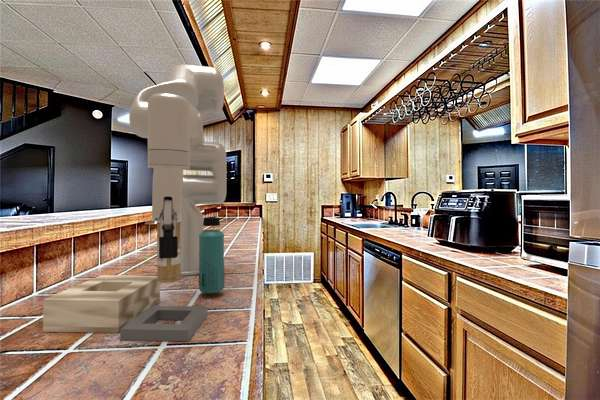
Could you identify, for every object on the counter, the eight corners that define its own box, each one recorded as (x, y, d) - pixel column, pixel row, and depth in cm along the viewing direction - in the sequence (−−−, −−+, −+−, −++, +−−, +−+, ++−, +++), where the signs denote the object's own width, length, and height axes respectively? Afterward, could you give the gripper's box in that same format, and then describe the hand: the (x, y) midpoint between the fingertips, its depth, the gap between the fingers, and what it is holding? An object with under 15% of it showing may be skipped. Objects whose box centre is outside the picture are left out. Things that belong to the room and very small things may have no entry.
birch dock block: (101, 299, 79) (101, 274, 79) (159, 300, 79) (159, 275, 79) (43, 331, 61) (43, 299, 61) (118, 332, 61) (118, 300, 61)
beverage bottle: (229, 292, 86) (230, 216, 86) (214, 300, 80) (215, 218, 79) (208, 290, 88) (208, 215, 88) (192, 297, 82) (192, 217, 82)
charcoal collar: (151, 314, 70) (151, 305, 70) (207, 315, 70) (207, 306, 70) (120, 340, 58) (120, 329, 58) (188, 341, 58) (188, 330, 58)
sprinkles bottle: (183, 281, 64) (184, 212, 63) (158, 285, 62) (158, 213, 61) (178, 275, 68) (178, 210, 67) (154, 278, 65) (154, 211, 65)
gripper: (151, 162, 70) (151, 247, 71) (142, 157, 54) (143, 266, 55) (188, 163, 73) (188, 246, 74) (190, 159, 57) (190, 264, 58)
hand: (168, 253), depth 65 cm, fingers closed on sprinkles bottle, 4 cm apart
